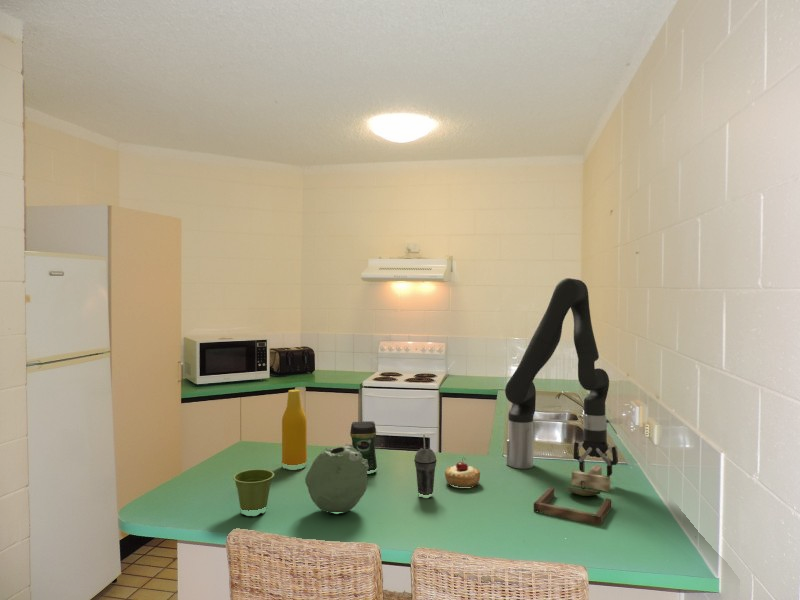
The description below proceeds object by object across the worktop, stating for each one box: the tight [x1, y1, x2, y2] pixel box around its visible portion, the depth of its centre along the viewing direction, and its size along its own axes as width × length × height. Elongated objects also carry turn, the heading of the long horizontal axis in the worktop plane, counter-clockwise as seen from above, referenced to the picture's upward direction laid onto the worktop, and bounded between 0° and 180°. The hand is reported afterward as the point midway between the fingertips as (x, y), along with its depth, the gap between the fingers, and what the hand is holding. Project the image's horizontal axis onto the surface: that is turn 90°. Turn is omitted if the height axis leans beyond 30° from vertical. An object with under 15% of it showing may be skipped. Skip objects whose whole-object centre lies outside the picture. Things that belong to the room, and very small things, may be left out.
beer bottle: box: [281, 389, 308, 465], centre depth 205 cm, size 9×9×29 cm
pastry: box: [444, 457, 481, 487], centre depth 186 cm, size 12×12×9 cm
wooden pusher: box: [571, 464, 611, 492], centre depth 187 cm, size 12×12×4 cm
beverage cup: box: [413, 434, 437, 495], centre depth 175 cm, size 7×7×20 cm
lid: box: [565, 481, 601, 497], centre depth 174 cm, size 11×10×5 cm
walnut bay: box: [533, 487, 612, 527], centre depth 164 cm, size 19×16×2 cm
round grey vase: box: [304, 443, 369, 513], centre depth 162 cm, size 16×19×20 cm
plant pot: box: [233, 468, 275, 511], centre depth 162 cm, size 12×12×11 cm
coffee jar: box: [349, 420, 378, 471], centre depth 199 cm, size 10×8×19 cm
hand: (595, 474), depth 186 cm, fingers open, 8 cm apart
